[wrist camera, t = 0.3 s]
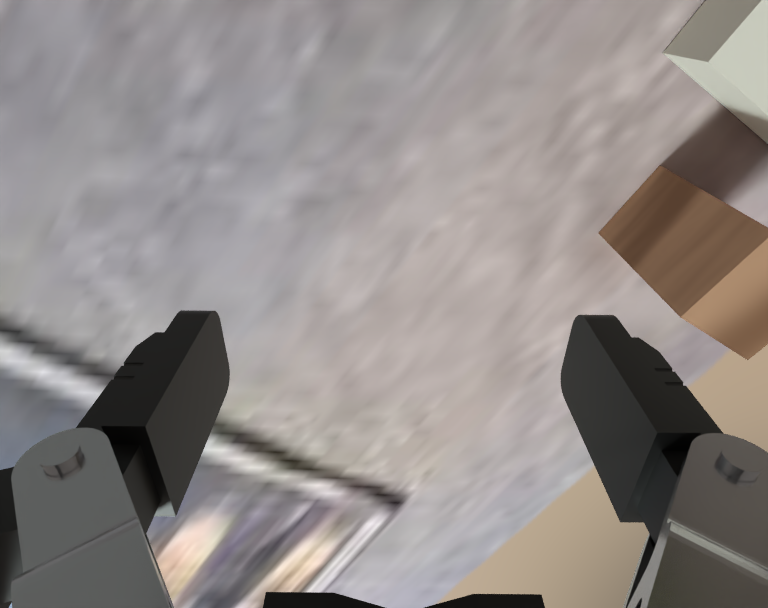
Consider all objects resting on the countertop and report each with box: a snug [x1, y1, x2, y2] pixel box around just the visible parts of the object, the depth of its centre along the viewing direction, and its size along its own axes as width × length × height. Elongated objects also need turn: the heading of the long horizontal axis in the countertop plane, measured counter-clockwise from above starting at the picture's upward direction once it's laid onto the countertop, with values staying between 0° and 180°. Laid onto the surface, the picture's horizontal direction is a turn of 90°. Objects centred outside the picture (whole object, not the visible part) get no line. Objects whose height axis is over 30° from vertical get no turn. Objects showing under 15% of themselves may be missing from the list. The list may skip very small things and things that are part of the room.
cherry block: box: [599, 166, 768, 360], centre depth 27 cm, size 5×5×10 cm
